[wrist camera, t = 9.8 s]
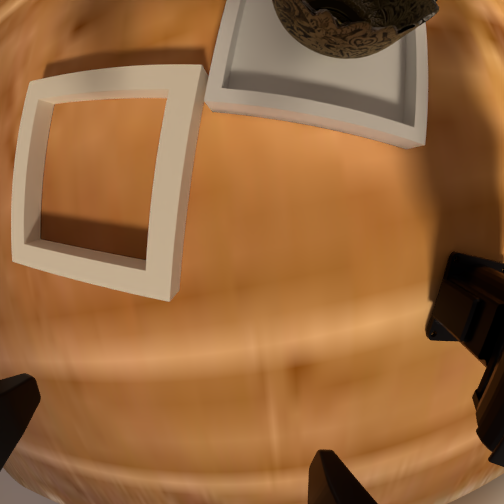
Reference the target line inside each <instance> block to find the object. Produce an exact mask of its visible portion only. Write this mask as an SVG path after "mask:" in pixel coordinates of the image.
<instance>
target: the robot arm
mask: <svg viewBox="0 0 504 504" xmlns="http://www.w3.org/2000/svg"><path fill="white" fill-rule="evenodd" d="M455 257H457V260H456V261H455V262H454V259H455ZM502 270H503V271H502ZM433 331H434V333H433V334H432V332H433ZM431 334H432V335H431ZM426 336H427V337H428V338H429V339H430V340H435V341H459V342H460V343H461V344H462V345H463V346H465V347H466V348H467V349H468V350H469V351H470V352H471V353H472V354H473V355H474V356H475V357H476V358H477V359H478V360H479V361H480V362H481V363H482V364H483V365H484V366H485V367H486V370H485V372H484V375H483V377H482V379H481V382H480V384H479V386H478V389H476V390H475V392H474V394H473V396H472V399H473V402H474V405H475V409H476V418H477V425H478V428H477V430H476V433H477V435H478V436H479V438H480V440H481V441H482V443H483V444H484V445H485V446H486V447H487V448H488V449H489V450H490V451H491V452H492V454H491V455H490V457H489V458H488V460H489V462H491V463H494V464H497V465H500V466H503V467H504V263H500V262H496V261H492V260H488V259H484V258H480V257H476V256H472V255H467V254H463V253H459V252H452V253H451V254H450V256H449V259H448V263H447V267H446V271H445V275H444V278H443V282H442V284H441V288H440V291H439V294H438V298H437V301H436V304H435V307H434V310H433V313H432V317H431V320H430V323H429V326H428V329H427V331H426ZM40 399H41V396H40V392H39V389H38V385H37V382H36V379H35V378H34V377H32V376H31V375H29V374H26V373H23V374H20V375H16V376H13V377H9V378H6V379H2V380H0V471H1V469H2V468H3V466H4V464H5V463H6V461H7V459H8V458H9V456H10V454H11V453H12V451H13V450H14V448H15V446H16V445H17V443H18V442H19V440H20V438H21V437H22V435H23V434H24V432H25V430H26V428H27V426H28V424H29V422H30V420H31V418H32V416H33V414H34V412H35V410H36V408H37V406H38V404H39V402H40ZM308 504H378V503H377V502H376V501H375V500H374V499H373V498H372V497H371V495H370V494H369V493H368V492H367V491H366V490H365V488H364V487H363V486H362V485H361V484H360V483H359V481H358V480H357V479H356V478H355V477H354V475H353V474H352V473H351V472H350V471H349V469H348V468H347V467H346V466H345V465H344V463H343V462H342V461H341V460H340V459H339V457H338V456H337V455H336V454H335V452H334V451H332V450H318V451H317V453H316V455H315V457H314V459H313V461H312V463H311V465H310V468H309V483H308Z"/></svg>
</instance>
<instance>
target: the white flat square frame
mask: <svg viewBox="0 0 504 504" xmlns="http://www.w3.org/2000/svg"><path fill="white" fill-rule="evenodd" d="M208 77H209V76H208V74H207V73H206V71H205V69H204V67H203V66H202V65H192V64H164V65H139V66H125V67H113V68H104V69H96V70H88V71H81V72H75V73H69V74H63V75H58V76H53V77H48V78H43V79H39V80H35V81H31V82H30V83H29V87H28V91H27V95H26V99H25V103H24V108H23V113H22V118H21V123H20V128H19V134H18V141H17V147H16V155H15V164H14V174H13V186H12V207H11V242H12V262H16V263H19V264H22V265H25V266H29V267H32V268H35V269H39V270H42V271H46V272H49V273H53V274H56V275H60V276H64V277H67V278H71V279H75V280H79V281H83V282H86V283H90V284H94V285H98V286H102V287H106V288H111V289H115V290H119V291H123V292H128V293H132V294H136V295H141V296H145V297H150V298H155V299H159V300H164V301H169V302H170V301H171V300H172V298H173V297H174V296H175V295H176V294H177V292H178V291H179V287H180V275H181V263H182V253H183V243H184V233H185V224H186V216H187V208H188V200H189V192H190V184H191V177H192V170H193V163H194V157H195V150H196V144H197V138H198V132H199V126H200V120H201V115H202V109H203V104H204V97H205V92H206V87H207V82H208ZM122 98H167V102H166V107H165V112H164V118H163V123H162V129H161V134H160V140H159V147H158V153H157V160H156V167H155V174H154V182H153V190H152V199H151V208H150V218H149V229H148V242H147V256H146V260H142V259H137V258H132V257H126V256H121V255H116V254H111V253H106V252H101V251H96V250H91V249H86V248H81V247H76V246H71V245H66V244H61V243H56V242H52V241H47V240H42V239H40V227H41V199H42V184H43V173H44V164H45V156H46V148H47V142H48V135H49V129H50V124H51V119H52V114H53V109H54V104H59V103H67V102H77V101H88V100H102V99H122Z"/></svg>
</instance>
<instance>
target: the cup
mask: <svg viewBox="0 0 504 504" xmlns="http://www.w3.org/2000/svg"><path fill="white" fill-rule="evenodd" d="M436 1H437V0H272V3H273V6H274V9H275V11H276V14H277V16H278V18H279V20H280V22H281V23H282V25H283V27H284V28H285V29H286V31H287V32H288V33H289V34H290V35H291V36H292V37H293V38H294V39H295V40H297V41H298V42H299V43H300V44H302V45H303V46H305V47H307V48H308V49H310V50H312V51H314V52H316V53H319V54H321V55H325V56H329V57H333V58H340V59H356V58H362V57H367V56H370V55H372V54H375V53H377V52H379V51H381V50H383V49H385V48H387V47H389V46H390V45H392V44H393V43H395V42H396V41H398V40H399V39H401V38H402V37H404V36H405V35H407V34H408V33H410V32H411V31H412V30H414V29H415V28H417V27H418V26H420V25H422V24H423V23H425V22H426V21H428V20H429V19H430V18H432V17H433V16H434V15H435V14H436V13H437V12H438V11H439V6H438V4H437V3H436Z"/></svg>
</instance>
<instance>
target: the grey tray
mask: <svg viewBox="0 0 504 504" xmlns="http://www.w3.org/2000/svg"><path fill="white" fill-rule="evenodd" d="M204 102H205V103H206V104H207V105H208V107H209V108H210V109H211V111H212V112H219V113H229V114H238V115H247V116H255V117H262V118H269V119H276V120H283V121H289V122H295V123H300V124H306V125H311V126H316V127H321V128H326V129H331V130H335V131H340V132H344V133H348V134H353V135H357V136H361V137H365V138H369V139H372V140H376V141H380V142H384V143H387V144H391V145H394V146H397V147H401V148H404V149H410V148H414V147H419V146H423V145H425V141H426V128H427V110H428V51H427V34H426V22H425V23H423V24H422V25H420V26H418V27H417V28H415V29H414V30H412V31H411V32H410V33H408V34H407V35H405V36H404V37H402V38H401V39H399V40H398V41H396V42H395V43H393V44H392V45H390V46H389V47H387V48H385V49H383V50H381V51H379V52H377V53H375V54H372V55H370V56H367V57H362V58H356V59H340V58H333V57H329V56H325V55H321V54H319V53H316V52H314V51H312V50H310V49H308V48H307V47H305V46H303V45H302V44H300V43H299V42H298V41H297V40H295V39H294V38H293V37H292V36H291V35H290V34H289V33H288V32H287V31H286V29H285V28H284V27H283V25H282V23H281V22H280V20H279V18H278V16H277V14H276V11H275V9H274V6H273V3H272V0H227V1H226V5H225V8H224V12H223V16H222V20H221V24H220V28H219V32H218V36H217V41H216V45H215V49H214V54H213V58H212V63H211V68H210V72H209V77H208V82H207V87H206V92H205V97H204Z"/></svg>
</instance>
